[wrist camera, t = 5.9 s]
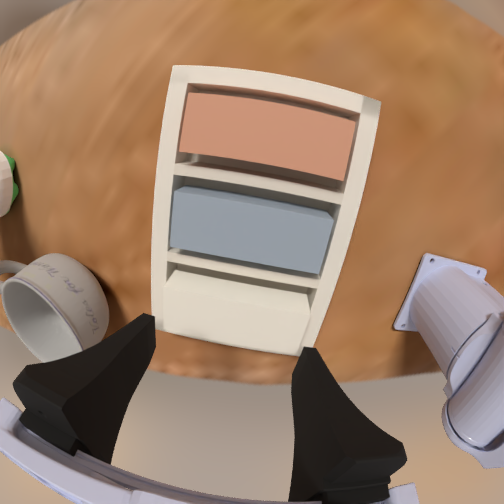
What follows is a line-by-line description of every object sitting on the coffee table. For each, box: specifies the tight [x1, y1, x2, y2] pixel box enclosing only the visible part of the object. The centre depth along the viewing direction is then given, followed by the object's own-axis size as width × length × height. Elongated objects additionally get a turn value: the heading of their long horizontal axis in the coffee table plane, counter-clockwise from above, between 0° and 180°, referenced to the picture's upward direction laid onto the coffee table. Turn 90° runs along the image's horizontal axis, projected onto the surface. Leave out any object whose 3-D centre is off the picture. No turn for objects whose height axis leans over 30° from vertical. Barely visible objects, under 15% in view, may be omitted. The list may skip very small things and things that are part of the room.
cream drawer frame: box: [151, 65, 381, 356], centre depth 19 cm, size 13×20×4 cm, turn 170°
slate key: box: [170, 185, 334, 274], centre depth 18 cm, size 10×4×2 cm, turn 80°
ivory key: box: [163, 270, 311, 354], centre depth 19 cm, size 10×4×2 cm, turn 80°
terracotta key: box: [179, 92, 356, 181], centre depth 15 cm, size 10×4×2 cm, turn 80°
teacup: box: [0, 253, 109, 363], centre depth 21 cm, size 14×11×8 cm
